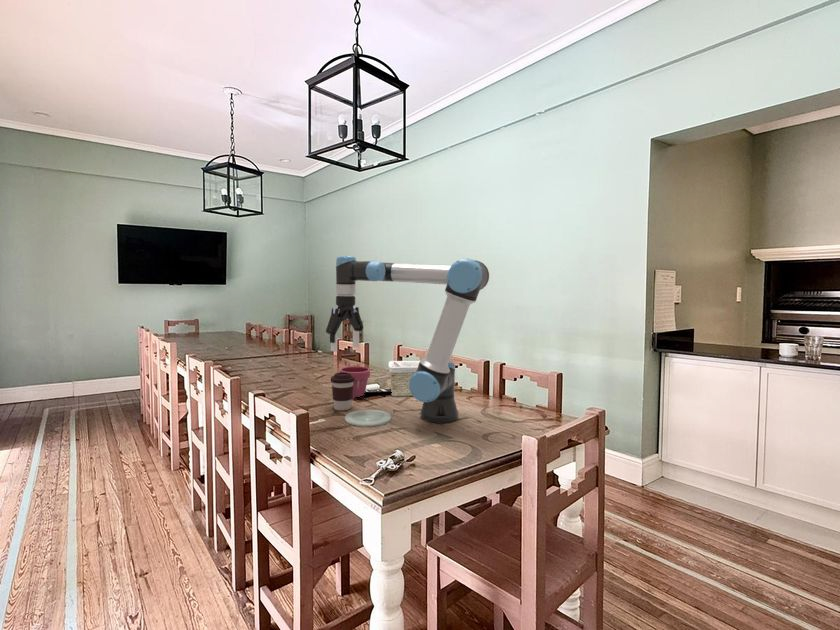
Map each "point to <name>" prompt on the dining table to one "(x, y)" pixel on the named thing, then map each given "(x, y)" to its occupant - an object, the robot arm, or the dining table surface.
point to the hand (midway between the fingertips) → (345, 349)
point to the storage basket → (401, 376)
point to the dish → (368, 418)
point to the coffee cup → (342, 390)
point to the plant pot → (358, 379)
